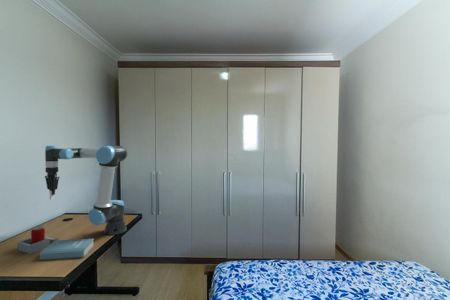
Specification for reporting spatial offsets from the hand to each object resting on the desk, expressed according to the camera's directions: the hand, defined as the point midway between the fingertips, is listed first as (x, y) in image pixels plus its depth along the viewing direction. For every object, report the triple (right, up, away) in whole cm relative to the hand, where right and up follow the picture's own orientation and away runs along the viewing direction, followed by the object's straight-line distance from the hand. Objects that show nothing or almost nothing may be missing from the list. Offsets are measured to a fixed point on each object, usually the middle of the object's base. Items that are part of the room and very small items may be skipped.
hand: (52, 198), depth 173 cm
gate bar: (+10, -25, -17) cm, 32 cm away
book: (+32, -27, -30) cm, 51 cm away
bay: (+9, -25, -24) cm, 36 cm away
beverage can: (+8, -26, -23) cm, 35 cm away
